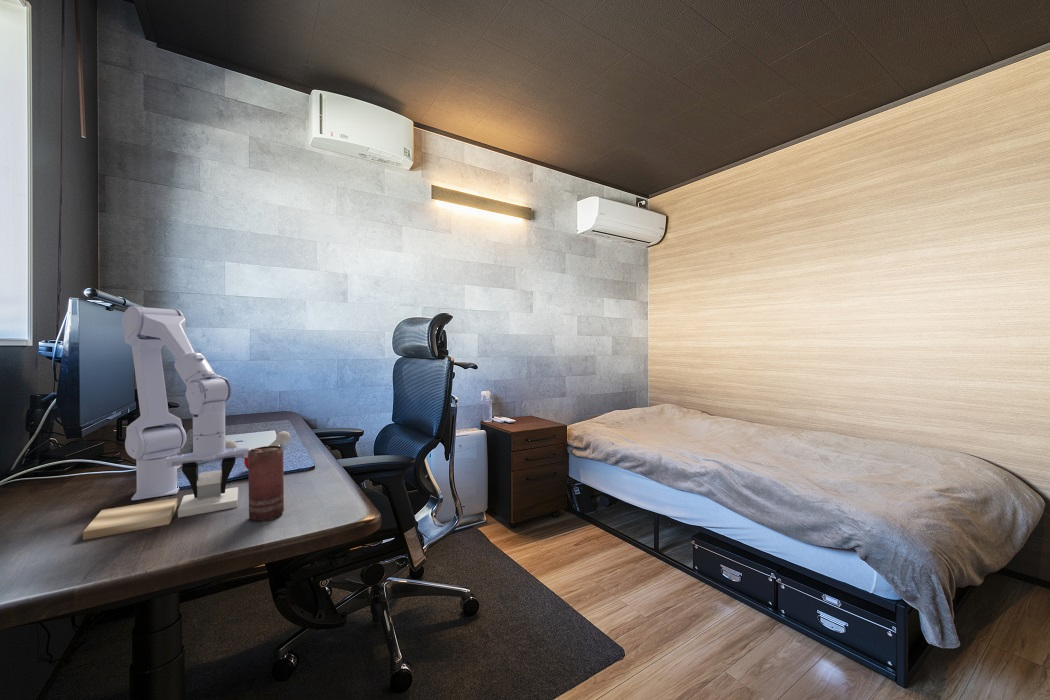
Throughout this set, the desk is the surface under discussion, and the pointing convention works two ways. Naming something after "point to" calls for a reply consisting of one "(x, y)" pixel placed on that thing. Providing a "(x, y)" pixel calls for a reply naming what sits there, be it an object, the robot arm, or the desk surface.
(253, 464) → the can
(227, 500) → the stand
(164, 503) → the stand
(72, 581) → the desk surface
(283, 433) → the molecular model
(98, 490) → the desk surface
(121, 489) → the desk surface
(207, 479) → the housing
